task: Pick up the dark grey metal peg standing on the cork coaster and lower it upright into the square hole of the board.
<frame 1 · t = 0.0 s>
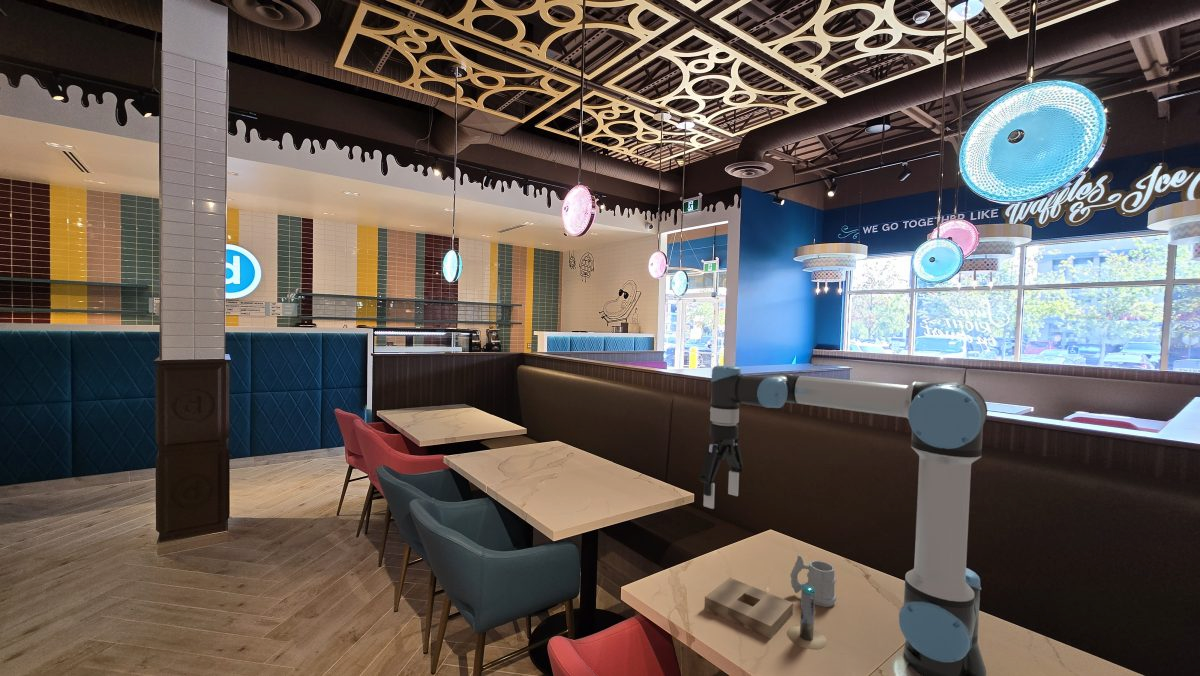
hand: (721, 500, 133), 28 cm above the table, fingers open, 13 cm apart
coaster: (806, 638, 119), on the table
hole board: (748, 612, 129), on the table
peg: (806, 636, 119), resting on coaster
mug: (812, 600, 136), on the table
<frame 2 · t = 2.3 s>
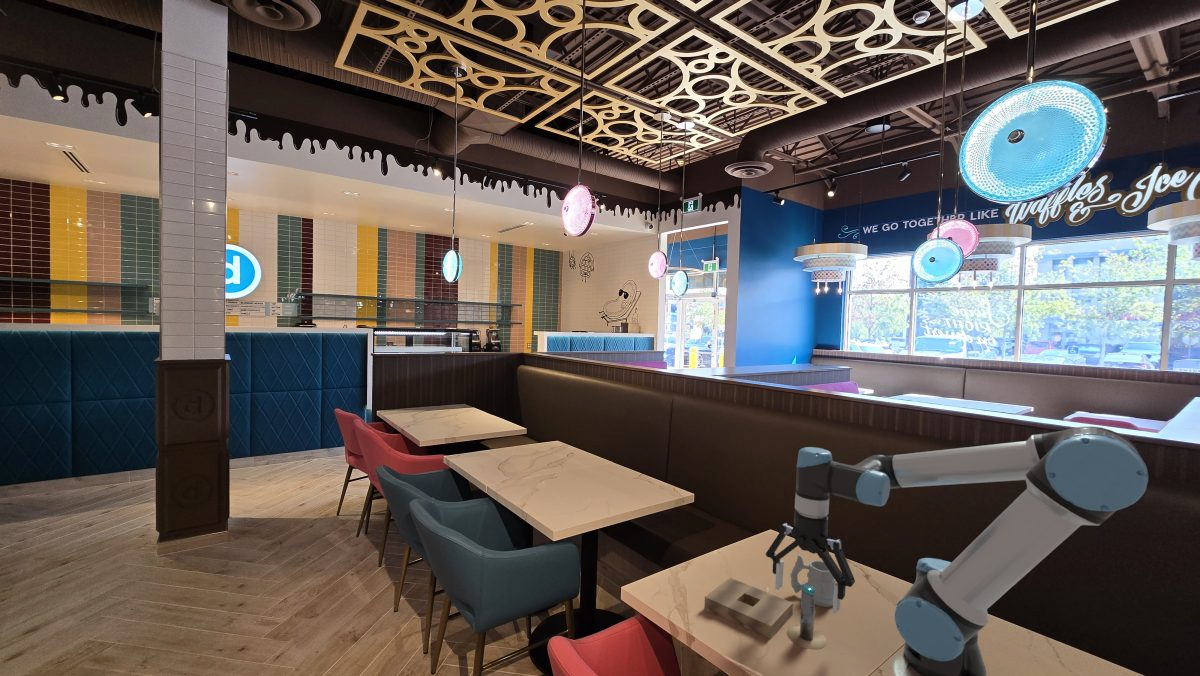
hand: (806, 598, 119), 10 cm above the table, fingers open, 13 cm apart
nothing on the table moved.
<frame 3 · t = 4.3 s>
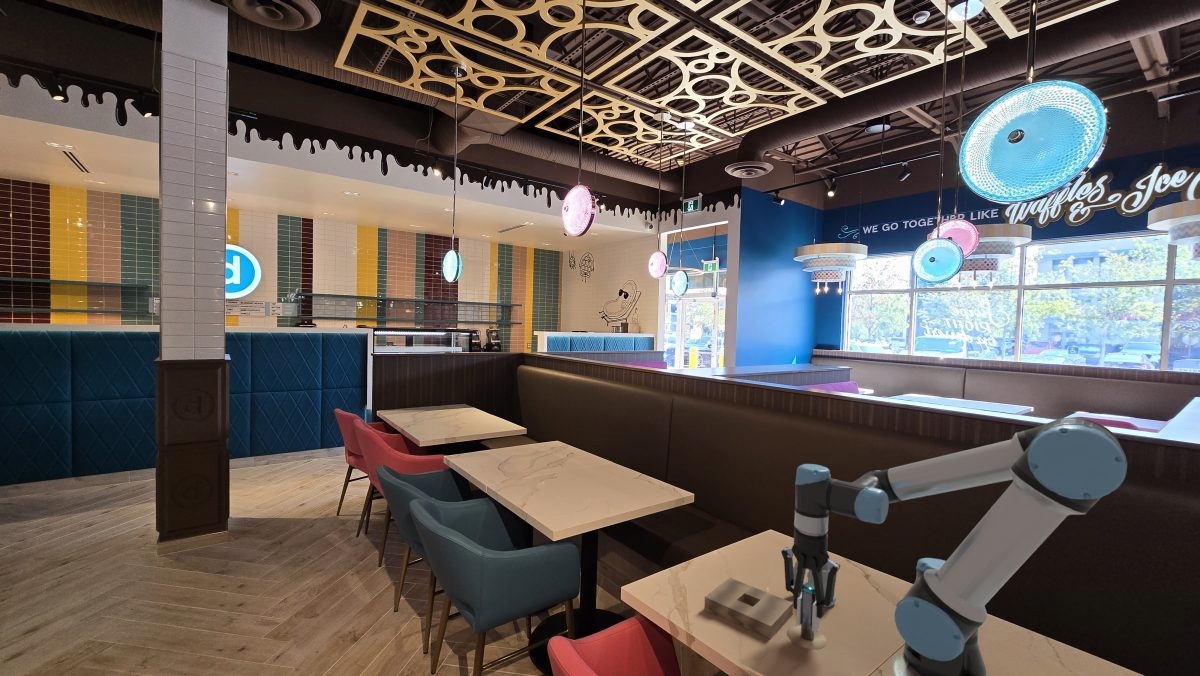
hand: (807, 625, 119), 3 cm above the table, fingers closed on peg, 3 cm apart
peg: (807, 636, 119), point 1 cm above the table, touching gripper
everything else where it was.
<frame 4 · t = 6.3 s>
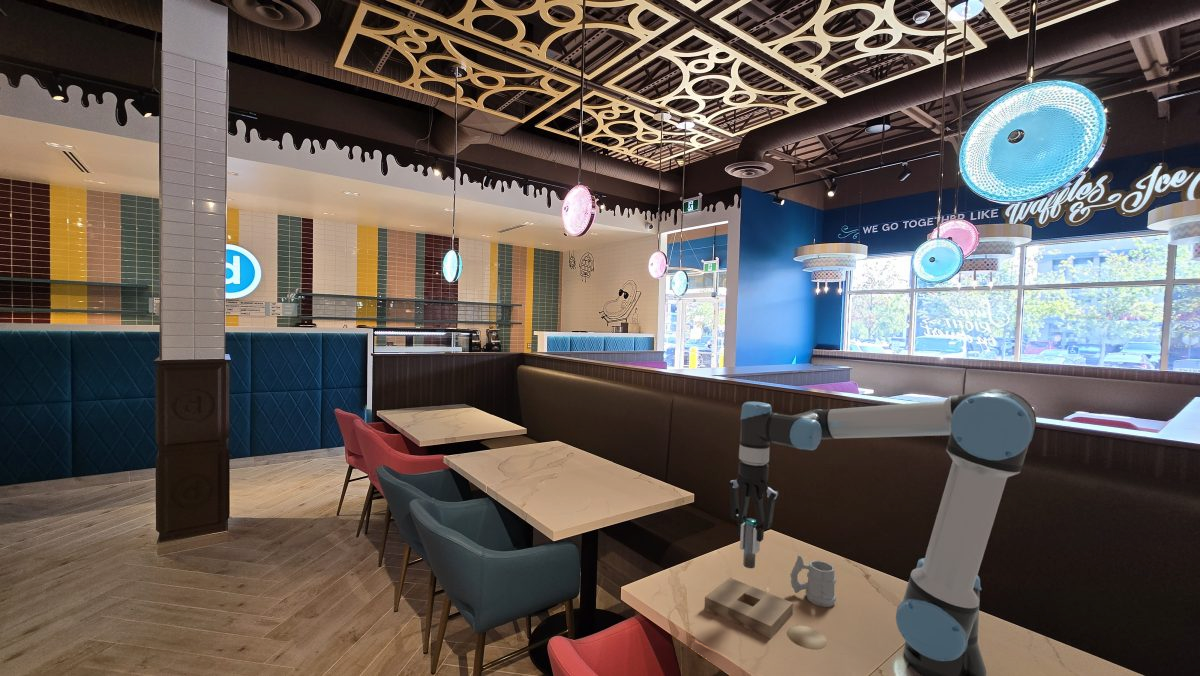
hand: (749, 549, 129), 17 cm above the table, fingers closed on peg, 3 cm apart
peg: (749, 565, 129), point 13 cm above the table, touching gripper
everything else where it was.
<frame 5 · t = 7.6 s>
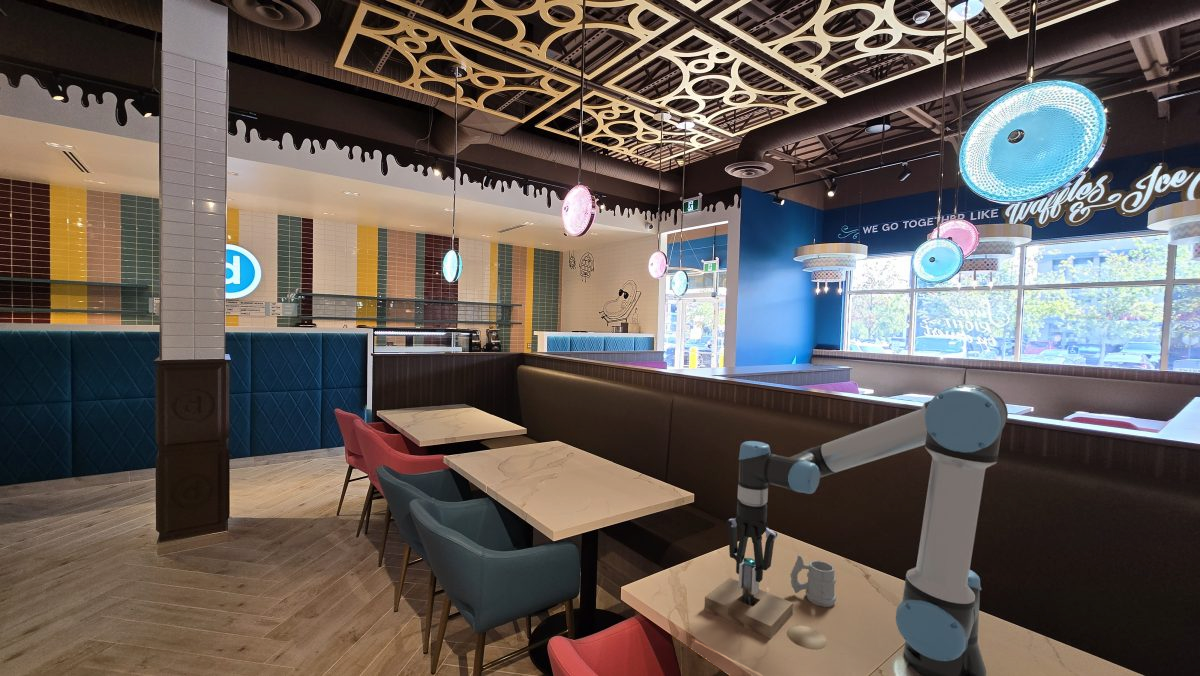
hand: (748, 589, 129), 6 cm above the table, fingers closed on peg, 3 cm apart
peg: (747, 605, 129), point 2 cm above the table, touching gripper
everything else where it was.
when the fingers open (5 cm above the table, at t = 8.5 s): peg stays where it is, resting in hole board.
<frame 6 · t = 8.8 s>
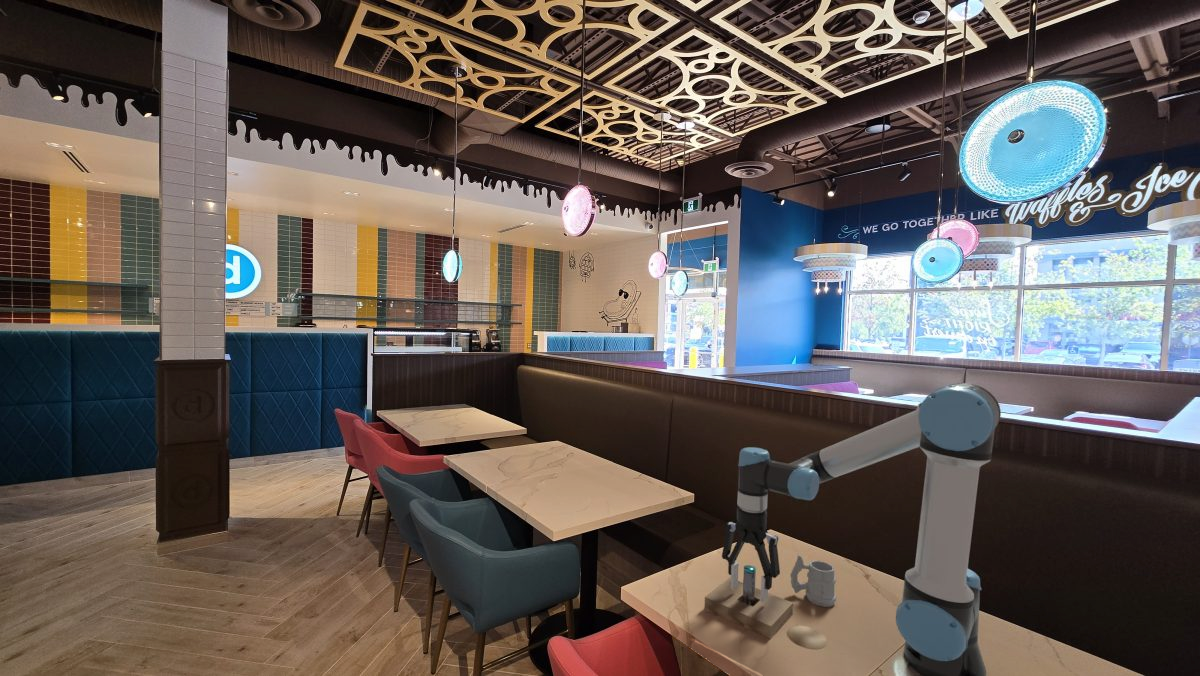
hand: (748, 593, 129), 5 cm above the table, fingers open, 8 cm apart
peg: (748, 612, 129), resting in hole board
everything else where it was.
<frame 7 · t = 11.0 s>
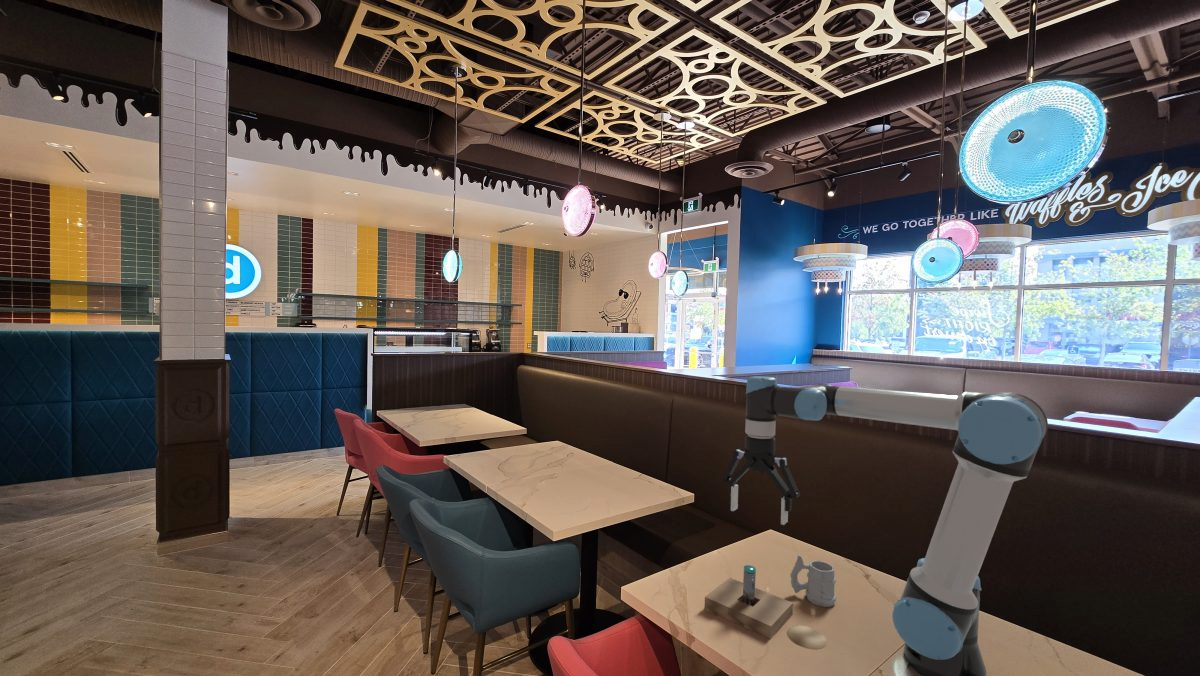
hand: (758, 516, 128), 26 cm above the table, fingers open, 13 cm apart
nothing on the table moved.
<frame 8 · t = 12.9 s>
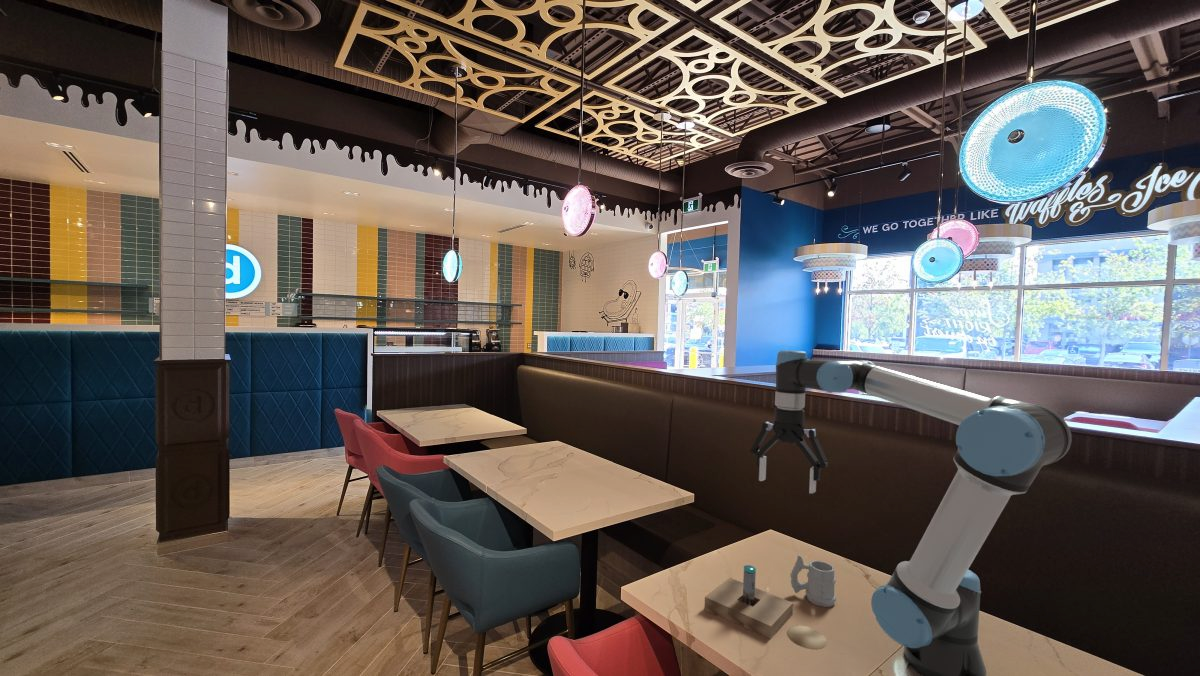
hand: (786, 486, 132), 33 cm above the table, fingers open, 13 cm apart
nothing on the table moved.
at the end: peg 0.0 cm off-centre on the hole board, point 0.0 cm above the hole board's base; peg tilted 0°; the gripper is holding nothing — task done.
